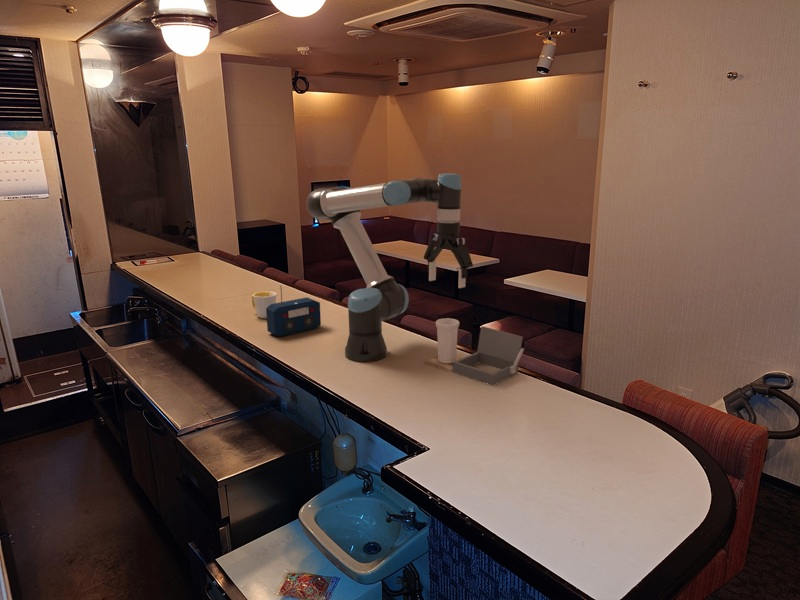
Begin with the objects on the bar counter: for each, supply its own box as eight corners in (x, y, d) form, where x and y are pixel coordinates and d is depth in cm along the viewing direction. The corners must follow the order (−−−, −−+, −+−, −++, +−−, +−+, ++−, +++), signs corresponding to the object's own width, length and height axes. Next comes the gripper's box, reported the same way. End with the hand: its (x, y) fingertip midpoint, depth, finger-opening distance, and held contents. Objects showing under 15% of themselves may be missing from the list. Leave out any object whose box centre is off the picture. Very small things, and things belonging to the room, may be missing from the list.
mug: (281, 317, 242) (280, 294, 239) (260, 321, 236) (258, 298, 233) (267, 310, 252) (266, 288, 250) (247, 314, 246) (245, 292, 243)
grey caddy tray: (496, 386, 169) (498, 349, 166) (453, 372, 180) (453, 336, 177) (523, 372, 180) (526, 337, 176) (481, 359, 191) (482, 325, 188)
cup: (431, 358, 191) (431, 319, 187) (452, 355, 193) (453, 317, 190) (440, 366, 183) (441, 326, 180) (462, 363, 186) (463, 323, 182)
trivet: (449, 371, 181) (449, 369, 181) (425, 363, 188) (425, 361, 188) (469, 362, 188) (470, 361, 188) (445, 354, 196) (445, 353, 196)
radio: (276, 339, 213) (273, 289, 208) (266, 333, 220) (263, 285, 215) (322, 328, 226) (320, 281, 221) (311, 323, 233) (309, 278, 227)
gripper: (485, 224, 174) (482, 288, 180) (429, 217, 192) (428, 275, 197) (470, 226, 169) (467, 292, 175) (414, 218, 187) (413, 279, 192)
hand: (446, 283), depth 186 cm, fingers open, 13 cm apart
